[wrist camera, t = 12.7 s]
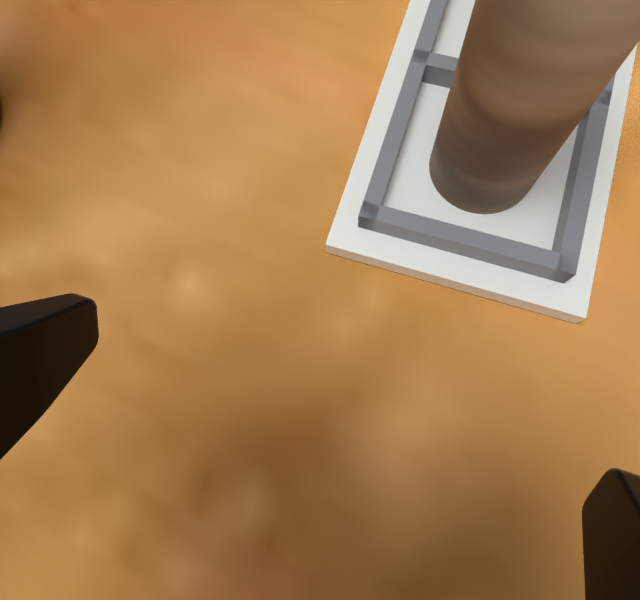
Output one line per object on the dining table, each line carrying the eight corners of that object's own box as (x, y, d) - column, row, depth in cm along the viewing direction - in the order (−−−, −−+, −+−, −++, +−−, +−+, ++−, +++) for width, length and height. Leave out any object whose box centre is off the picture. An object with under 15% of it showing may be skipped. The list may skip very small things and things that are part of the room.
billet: (553, 191, 22) (857, -173, 9) (457, 229, 22) (621, -86, 9) (503, 109, 24) (701, -312, 10) (412, 144, 24) (494, -240, 10)
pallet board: (575, 323, 22) (600, 311, 20) (326, 252, 23) (324, 233, 21) (641, -21, 27) (666, -60, 25) (434, -59, 29) (441, -99, 26)
